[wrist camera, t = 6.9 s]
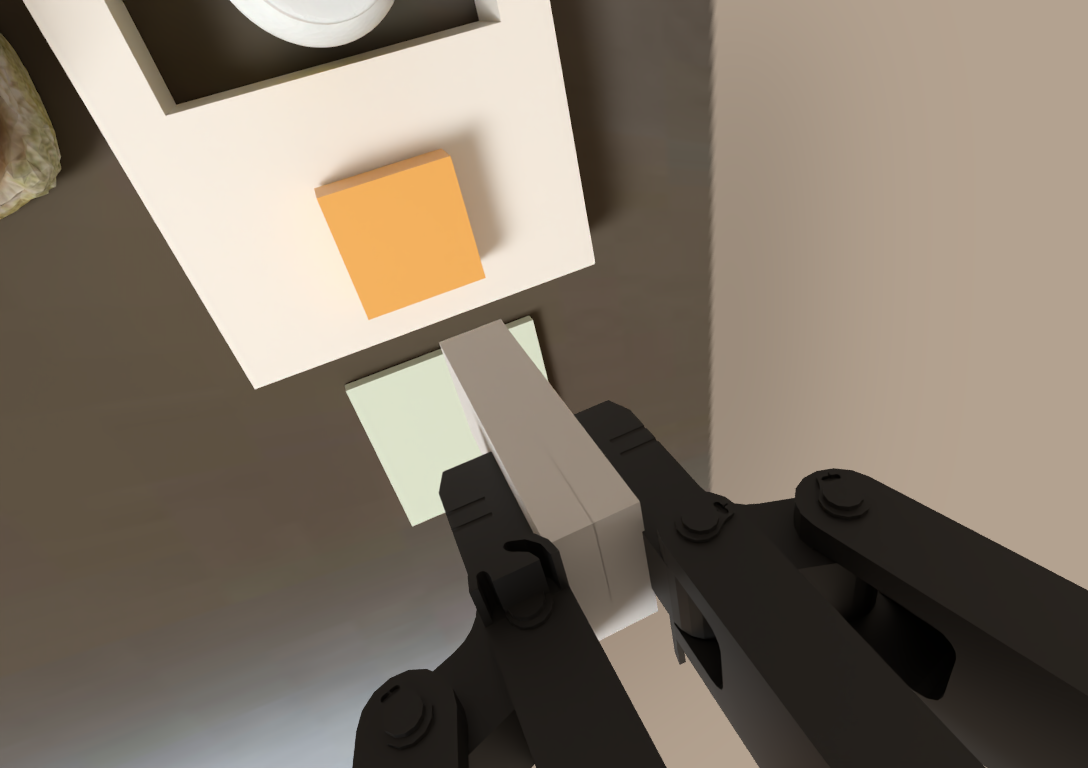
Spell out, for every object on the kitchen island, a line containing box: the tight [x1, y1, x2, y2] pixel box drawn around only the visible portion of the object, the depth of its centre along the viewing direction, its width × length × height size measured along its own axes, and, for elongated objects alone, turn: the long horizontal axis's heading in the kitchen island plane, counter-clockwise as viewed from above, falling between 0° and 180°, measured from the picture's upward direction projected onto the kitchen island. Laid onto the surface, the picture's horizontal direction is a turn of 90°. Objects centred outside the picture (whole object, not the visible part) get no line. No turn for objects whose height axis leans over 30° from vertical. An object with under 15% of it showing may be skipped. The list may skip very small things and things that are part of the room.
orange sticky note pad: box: [314, 148, 486, 320], centre depth 25 cm, size 5×5×4 cm
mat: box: [345, 316, 548, 526], centre depth 34 cm, size 10×10×1 cm
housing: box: [23, 0, 595, 389], centre depth 23 cm, size 16×20×3 cm
